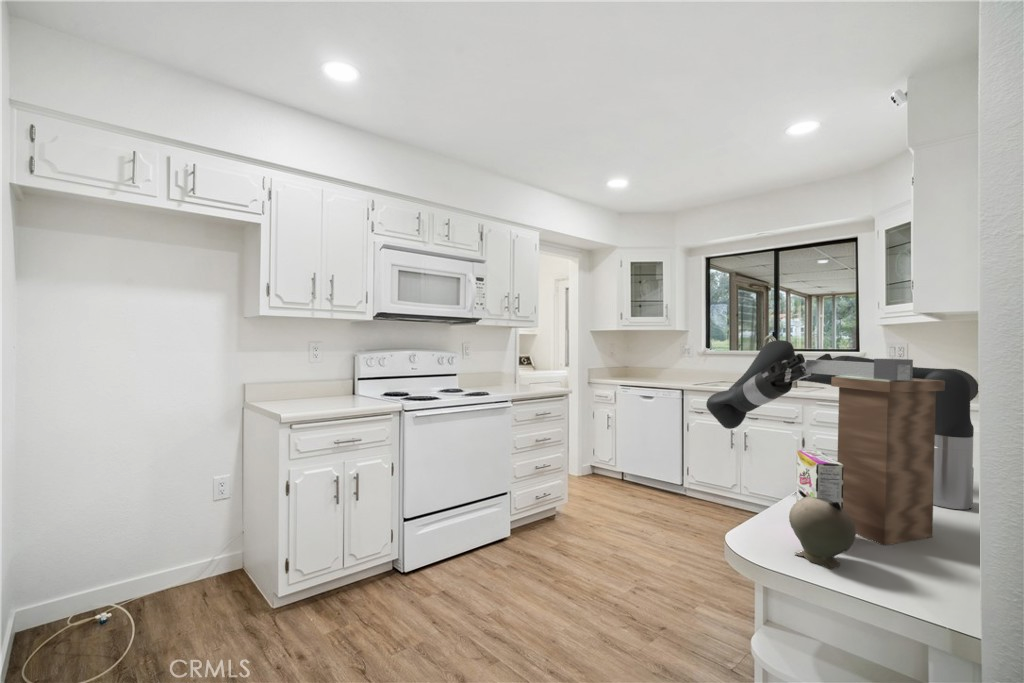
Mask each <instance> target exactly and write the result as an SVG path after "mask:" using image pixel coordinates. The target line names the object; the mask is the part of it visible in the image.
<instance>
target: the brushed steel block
mask: <svg viewBox="0 0 1024 683" xmlns="http://www.w3.org/2000/svg"><path fill="white" fill-rule="evenodd" d="M873 359H874V363H869V362H851V361H832V360H816V359H805V362H806V373H816V374H828V375H840V376H852V377H864V378H874V379H885V380H912V376H913V367H914V366H913V365H914V359H909V358H908V359H905V358H873Z"/></svg>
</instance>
